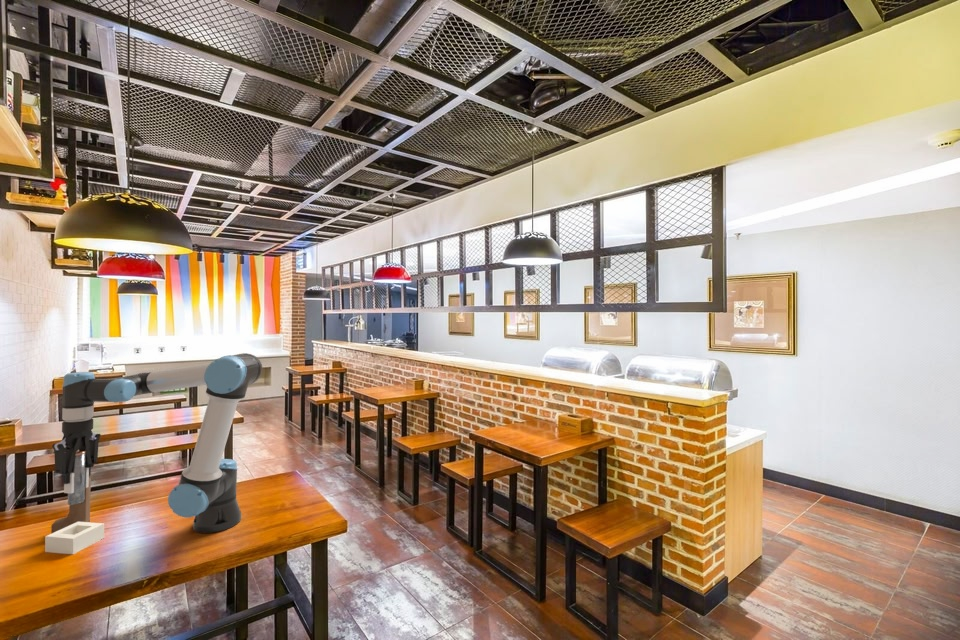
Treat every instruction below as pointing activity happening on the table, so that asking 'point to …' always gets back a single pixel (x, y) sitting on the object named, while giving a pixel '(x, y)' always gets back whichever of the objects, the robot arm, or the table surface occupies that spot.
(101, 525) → the socket
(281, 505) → the table surface
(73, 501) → the peg
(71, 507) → the wooden block
